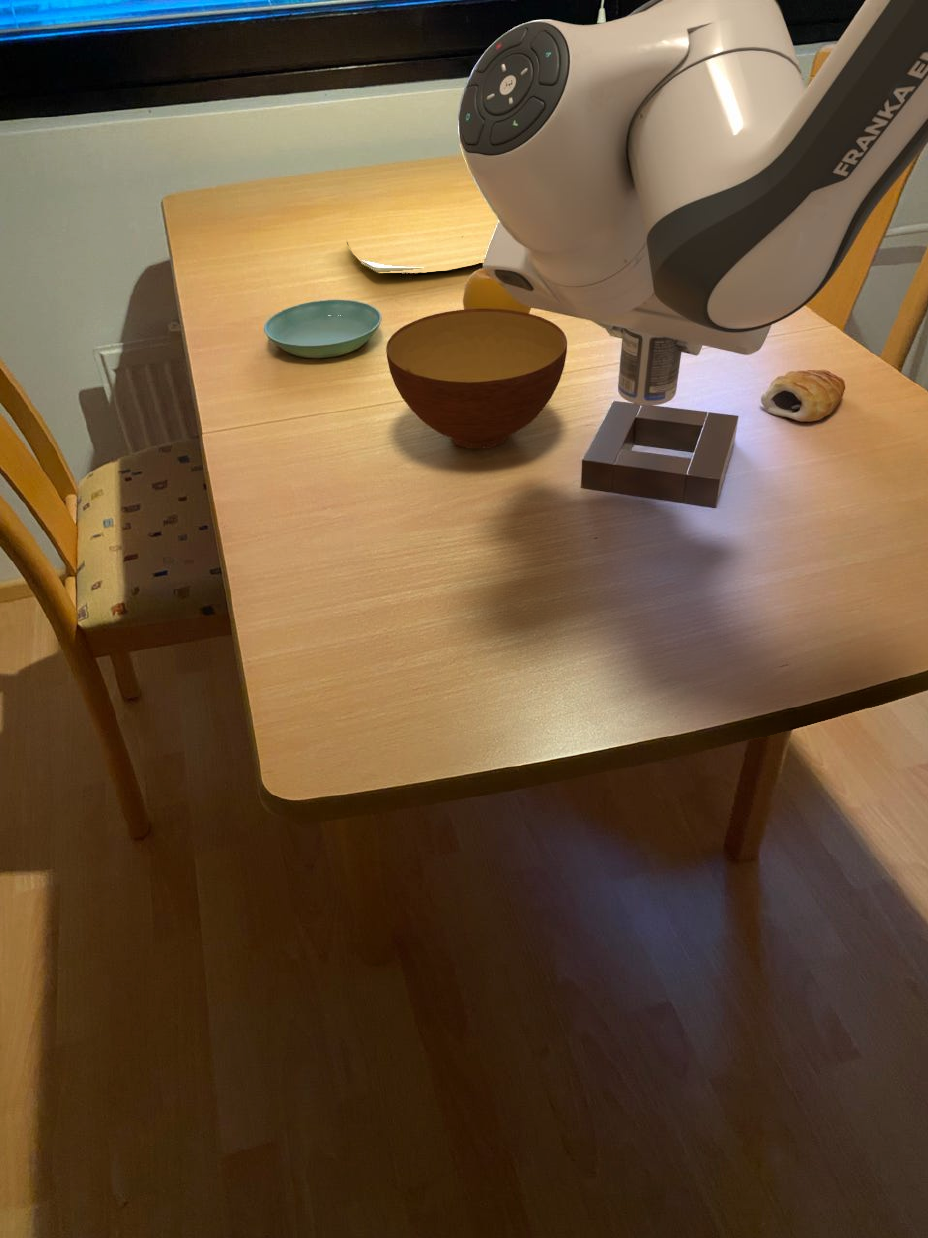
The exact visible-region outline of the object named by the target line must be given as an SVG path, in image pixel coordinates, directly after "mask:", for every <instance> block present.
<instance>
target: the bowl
mask: <svg viewBox="0 0 928 1238" xmlns="http://www.w3.org/2000/svg"><path fill="white" fill-rule="evenodd" d="M385 350H386V352H385V353H386V359H387V364H388V370H389V373H390V376H391V378H392V380H393V383H394V386H395V388H396V390H397V391H398V393H399V395H400V397H401V398H402V399H403V401H404V402H405V404H406V405H407V406H408V407H409V409H410V410H411V412H412V413H414V414H415V415H416V416H417V417H418V418H419V419H420V420H421V421H422V422H423V423H424V424H426V425H427V426H429V428H431V429H432V430H434V431H436V432H437V433H439V434H440V435H443V436H445V437H447V438H450V439H451V441H452V442H453V443H454V444H456V445H458V446H459V447H462V448H465V449H473V450H483V449H490V448H495V447H497V446H499V445H501V444H503V443H505V442H506V440H508V438H509V437H510V436H511V435H513V434H515V433H517V432H519V431H521V430H522V429H524V428H525V427H527V426H528V425H529V424H531V423H532V422H533V421H534V420H535V419H536V418H538V416H539V415H540V414H541V412H543V410H544V409H545V407H546V406H547V404H548V403H549V402H550V400H551V399H552V397H553V395H554V393H555V392H556V391H557V390H556V389H557V387H558V385H559V384H560V381H561V379H562V375H563V371H564V369H565V366H566V365H565V364H566V358H567V353H568V339H567V336H566V334H565V332H564V331H563V330H562V329H561V327H559V326H558V325H557V324H555V323H554V322H553V321H550V320H549V319H546V318H544V317H542V316H540V315H535V314H531V313H529V314H528V313H524V312H519V311H513V310H503V309H465V310H464V309H457V310H451V311H445V312H439V313H435V314H431V315H427V316H425V317H421V318H419V319H416V320H413V321H412V322H409V323H407V324H405V325H403V326H402V327H400V328H399V329H397V330H396V331H395V332H394V333H393V334H392V335H391V337H390V338H389V339H388V340H387V344H386V348H385Z"/></svg>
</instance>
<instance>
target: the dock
mask: <svg viewBox="0 0 928 1238" xmlns="http://www.w3.org/2000/svg"><path fill="white" fill-rule="evenodd" d="M739 416H740V415H736V414H729V413H719V412H710V411H708V412H707V411H703V410H696V409H695V410H694V409H685V408H677V407H670V406H660V405H641V404H635V403H632V402H629V401H618V400H612V402H611V403H610V406H609V407H608V409H607V411H606V413H605V415H604V418H603V419H602V421H601V423H600V424H599V426H598V428H597V431H596V433H595V434H594V437H593V438H592V440H591V442H590V444H589V446H588V447H587V450H586V452H585V454H584V455H583V457H582V459H581V472H580V473H581V474H580V488H581V489H582V488H583V489H588V490H596V491H602V492H608V493H609V492H610V493H614V494H621V495H626V496H627V495H629V496H636V497H641V498H647V499H648V498H649V499H656V500H662V501H668V502H675V503H676V502H677V503H680V504H681V503H683V504H690V505H695V506H703V507H708V508H717V505H718V502H719V498H720V495H721V491H722V488H723V485H724V481H725V478H726V474H727V471H728V466H729V463H730V459H731V457H732V452H733V449H734V446H735V443H736V436H737V431H738V423H739ZM634 445H639V446H645V447H652V448H660V449H661V448H662V449H669V450H676V451H684V452H690V453H691V452H692V453H693V454H692V457H683V456H675V455H670V454H669V455H668V454H661V453H654V452H646V451H638V450H632V448H633V446H634Z"/></svg>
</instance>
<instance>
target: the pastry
mask: <svg viewBox="0 0 928 1238" xmlns="http://www.w3.org/2000/svg"><path fill="white" fill-rule="evenodd" d="M845 390H846V384H845V380H844V379H843V378H842V377H840V376H837V374H834V373H832V372H831V371H829V370H826V369H807V370H790V371H787V372H786V373H785V374H784V375H779V376H777V377H776V378H775V379H773V381H771V383H770V385H769V388H767V390H766V391H765V393H764V394H762V395H761V396H760V403H761V405H762V406H763V410H764V411H765V412H766V413H769V414H771V415H774V416H777V417H781V418H789V419H791V420H794V421H796V422H802V423H803V422H808V423H812V422H817V421H820V420H822V419H823V418H824V417H826V416H829V415H830V414H832V413H833V411H834V410H835V409H836V408H837V406H838V405H839V403H840V402H841V400H842V399H843V397H844V393H845Z"/></svg>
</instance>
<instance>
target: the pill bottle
mask: <svg viewBox="0 0 928 1238" xmlns="http://www.w3.org/2000/svg"><path fill="white" fill-rule="evenodd" d="M676 341H677V340H676V339H671V338H667V337H662V336H658V335H653V334H649V333H644V332H640V331H635V330H631V329H626V328H623V335H622V338H621V347H620V358H619V369H618V381H617V382H618V383H617V392H618V394H619V395H620V397H621V398H622V399H624V400H625V401H626V402H628V403H635V404H641V405H653V406H660V405H663V404H666V403H668V402H670V401H672V400H673V398H675V396H676V393H677V388H678V381H679V373H680V365H681V359H682V358H681V357H682V352H680V351H679V348H677V346H676V344H675V343H676Z"/></svg>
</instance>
